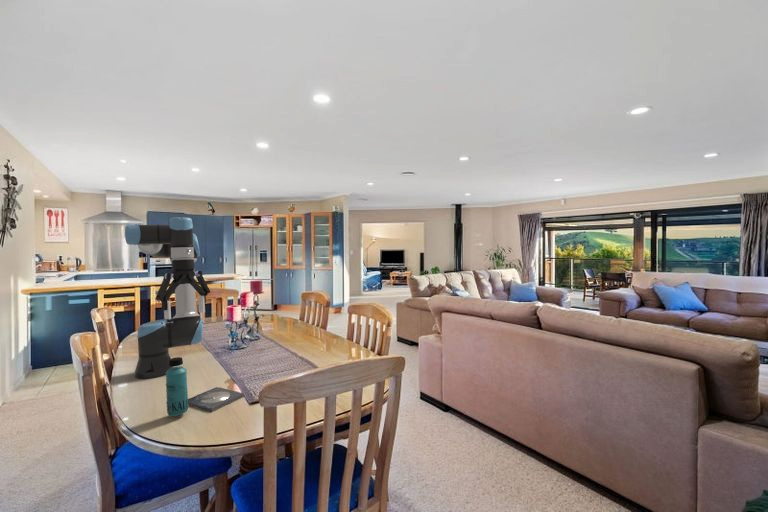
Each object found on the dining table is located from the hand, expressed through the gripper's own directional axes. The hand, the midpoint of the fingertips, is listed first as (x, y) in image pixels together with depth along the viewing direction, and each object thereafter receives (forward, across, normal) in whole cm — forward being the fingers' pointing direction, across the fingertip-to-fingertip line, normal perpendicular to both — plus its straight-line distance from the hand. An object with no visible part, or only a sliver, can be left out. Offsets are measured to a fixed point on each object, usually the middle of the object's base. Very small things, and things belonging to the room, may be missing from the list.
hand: (185, 315), depth 139 cm
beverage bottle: (+32, -10, -9) cm, 35 cm away
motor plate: (+32, +4, -10) cm, 34 cm away
